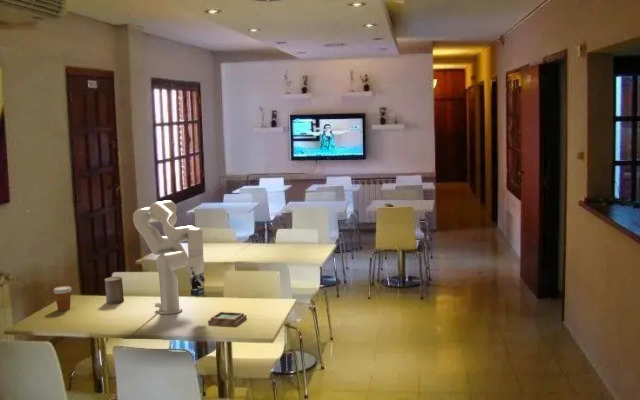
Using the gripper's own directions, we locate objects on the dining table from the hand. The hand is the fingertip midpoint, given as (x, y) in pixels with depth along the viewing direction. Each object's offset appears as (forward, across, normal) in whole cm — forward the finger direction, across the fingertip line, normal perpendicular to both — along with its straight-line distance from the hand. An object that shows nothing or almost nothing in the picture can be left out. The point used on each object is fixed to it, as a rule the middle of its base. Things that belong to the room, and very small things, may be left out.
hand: (197, 287), depth 375 cm
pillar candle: (+19, -22, -64) cm, 70 cm away
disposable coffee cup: (+19, -4, -84) cm, 86 cm away
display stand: (+16, +1, +17) cm, 24 cm away
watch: (+4, 0, 0) cm, 4 cm away
